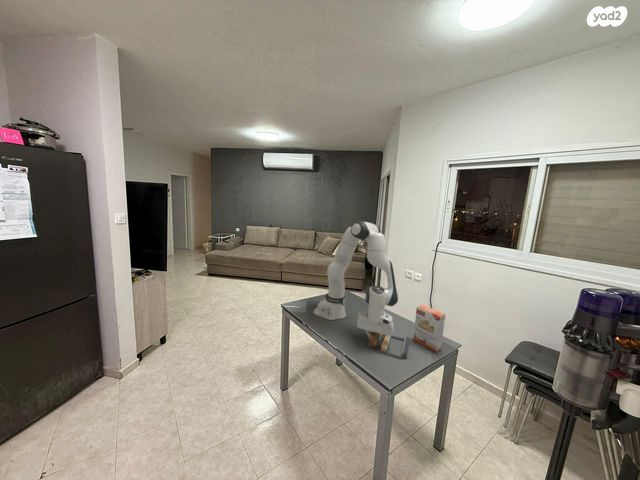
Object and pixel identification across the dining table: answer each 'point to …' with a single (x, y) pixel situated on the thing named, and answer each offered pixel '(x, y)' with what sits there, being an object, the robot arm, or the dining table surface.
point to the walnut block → (373, 339)
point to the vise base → (404, 351)
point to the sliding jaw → (385, 343)
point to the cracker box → (429, 327)
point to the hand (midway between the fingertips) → (374, 338)
